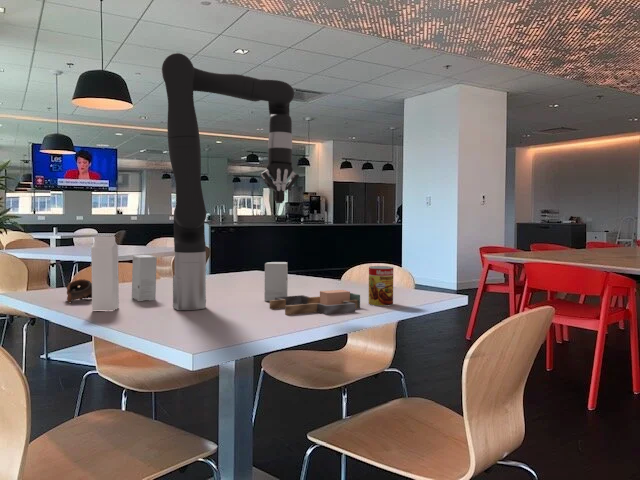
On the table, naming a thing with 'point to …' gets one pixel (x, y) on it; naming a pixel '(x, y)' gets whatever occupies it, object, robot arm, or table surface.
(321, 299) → the block
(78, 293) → the brown dome piece
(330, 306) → the channel
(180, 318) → the table surface
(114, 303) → the milk
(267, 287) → the supplement box
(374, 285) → the canned food
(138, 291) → the skincare box
